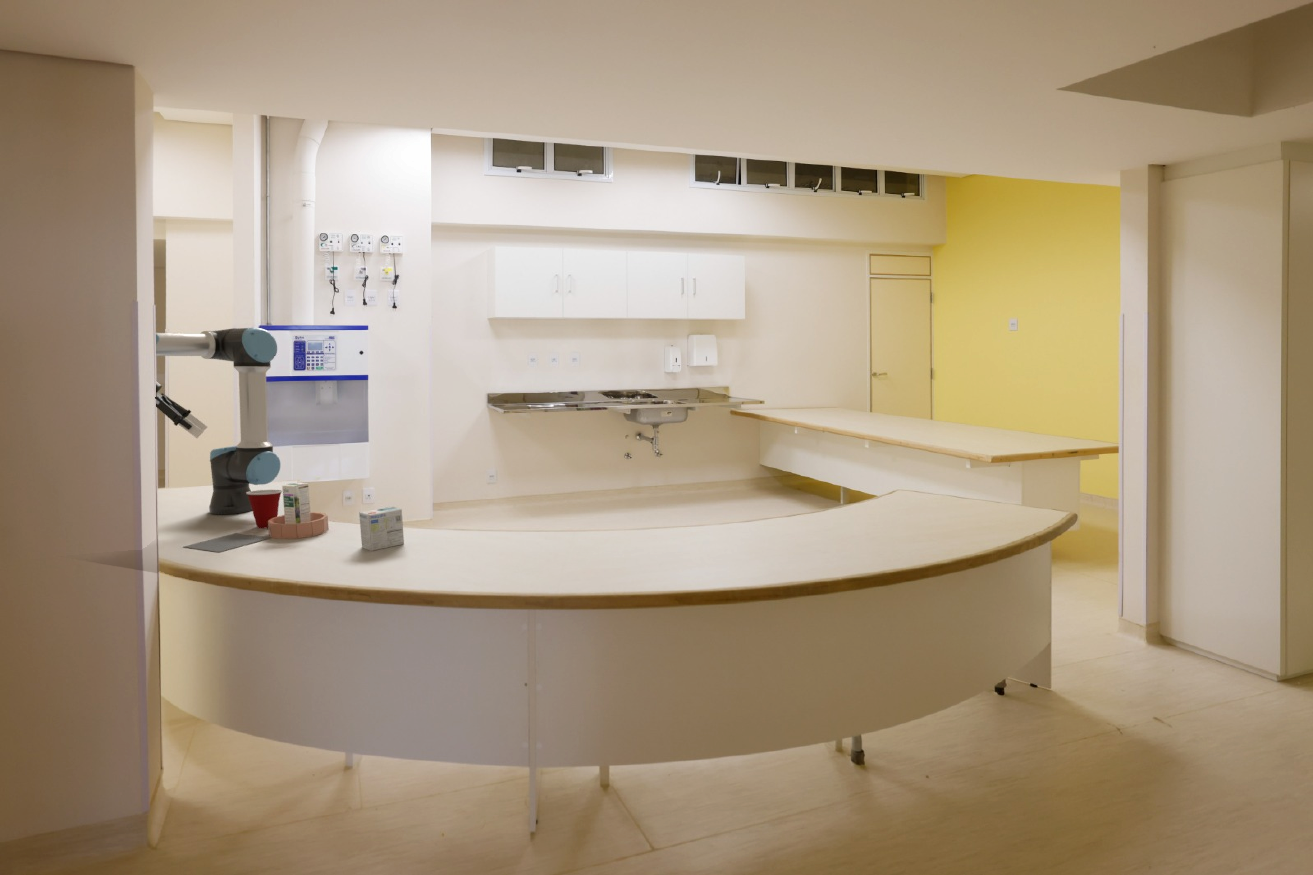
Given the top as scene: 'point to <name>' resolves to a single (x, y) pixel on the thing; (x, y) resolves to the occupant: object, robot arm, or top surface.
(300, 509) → the syrup box
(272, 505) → the plastic cup
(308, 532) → the ceramic bowl
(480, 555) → the top surface
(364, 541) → the light bulb box
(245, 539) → the rubber mat
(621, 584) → the top surface
